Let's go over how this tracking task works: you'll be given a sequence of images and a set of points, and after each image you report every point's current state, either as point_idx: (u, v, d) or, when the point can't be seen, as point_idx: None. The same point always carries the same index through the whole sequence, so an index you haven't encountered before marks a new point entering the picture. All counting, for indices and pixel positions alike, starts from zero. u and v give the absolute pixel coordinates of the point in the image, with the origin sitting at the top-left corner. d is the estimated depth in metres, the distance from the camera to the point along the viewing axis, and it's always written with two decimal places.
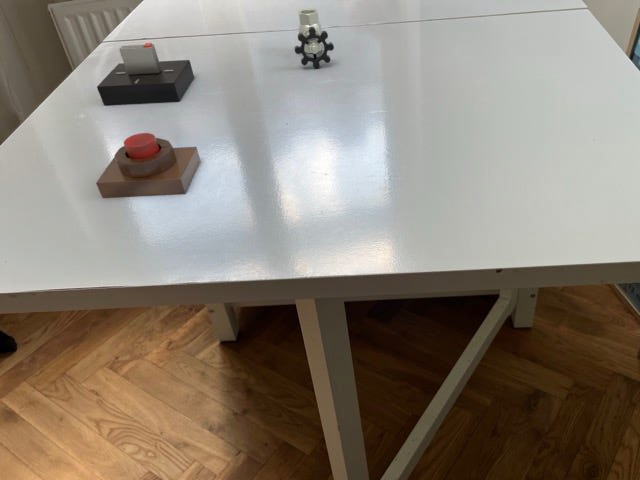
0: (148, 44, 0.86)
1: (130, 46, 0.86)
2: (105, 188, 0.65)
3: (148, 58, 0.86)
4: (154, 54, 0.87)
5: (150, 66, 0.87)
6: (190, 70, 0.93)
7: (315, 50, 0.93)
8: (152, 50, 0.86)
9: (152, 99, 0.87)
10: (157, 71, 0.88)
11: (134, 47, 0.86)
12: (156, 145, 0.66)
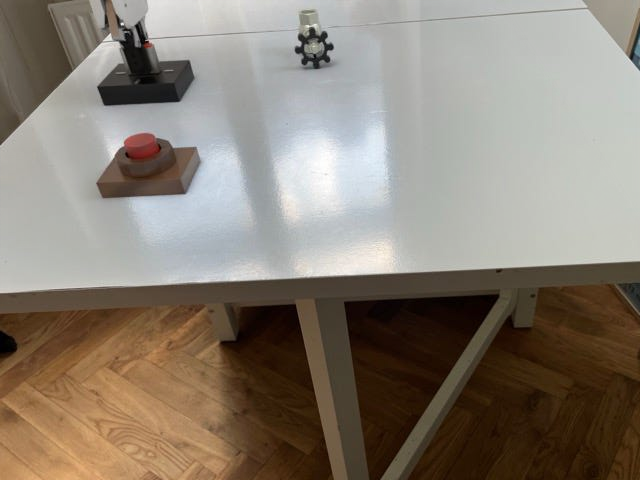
0: (148, 44, 0.86)
1: None
2: (105, 188, 0.65)
3: (148, 58, 0.86)
4: (154, 54, 0.87)
5: (150, 65, 0.87)
6: (190, 70, 0.93)
7: (315, 50, 0.93)
8: (152, 50, 0.86)
9: (152, 99, 0.87)
10: (157, 71, 0.88)
11: None
12: (156, 145, 0.66)
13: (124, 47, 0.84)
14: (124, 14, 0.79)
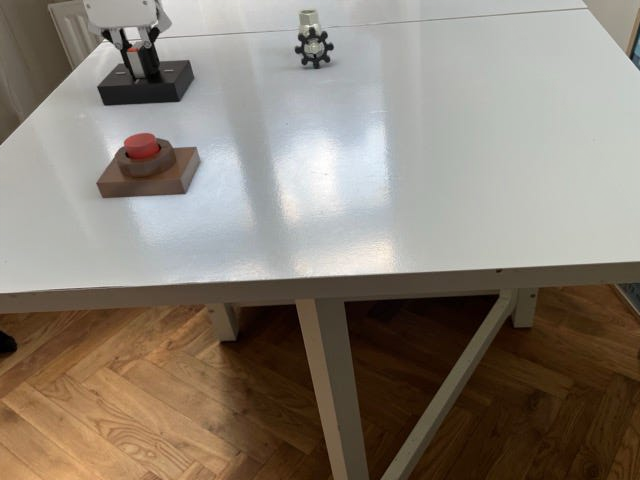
0: (131, 49, 0.84)
1: (139, 44, 0.87)
2: (105, 188, 0.65)
3: None
4: (133, 61, 0.85)
5: None
6: (190, 70, 0.93)
7: (315, 50, 0.93)
8: (130, 56, 0.85)
9: (152, 99, 0.87)
10: (135, 76, 0.87)
11: (135, 46, 0.86)
12: (156, 145, 0.66)
13: None
14: (87, 13, 0.81)
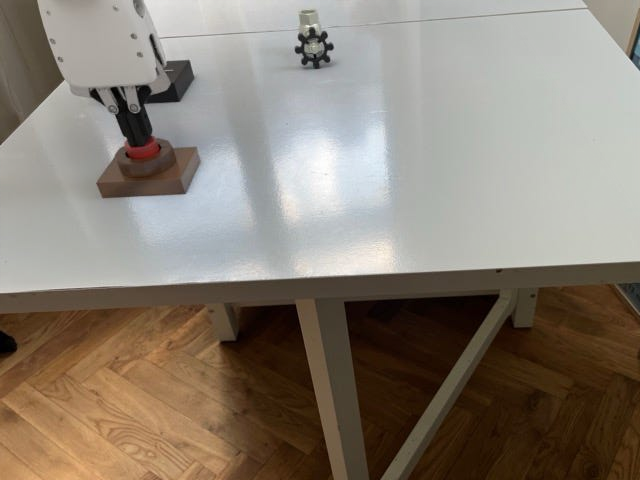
0: None
1: None
2: (105, 188, 0.65)
3: None
4: None
5: None
6: (190, 70, 0.93)
7: (315, 50, 0.93)
8: None
9: (152, 99, 0.87)
10: None
11: None
12: (156, 146, 0.66)
13: None
14: (59, 68, 0.58)
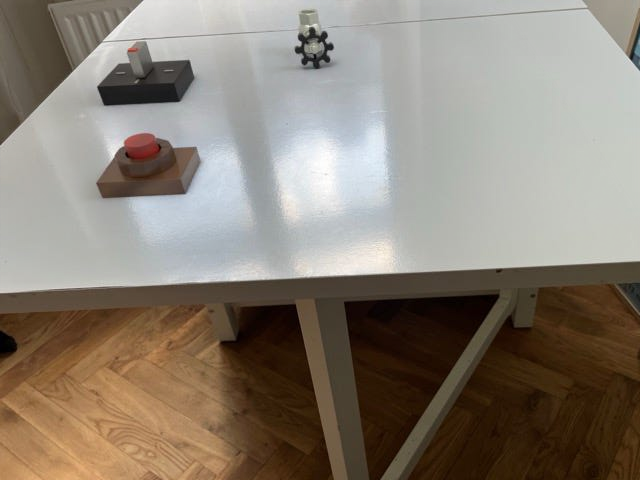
0: (131, 49, 0.84)
1: (139, 44, 0.87)
2: (105, 188, 0.65)
3: None
4: (133, 61, 0.85)
5: None
6: (190, 70, 0.93)
7: (315, 50, 0.93)
8: (130, 56, 0.85)
9: (152, 99, 0.87)
10: (135, 76, 0.87)
11: (135, 46, 0.86)
12: (156, 145, 0.66)
13: None
14: None
